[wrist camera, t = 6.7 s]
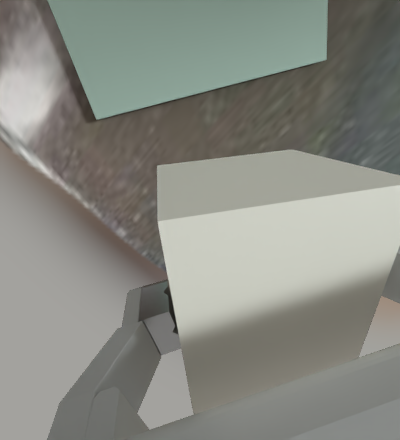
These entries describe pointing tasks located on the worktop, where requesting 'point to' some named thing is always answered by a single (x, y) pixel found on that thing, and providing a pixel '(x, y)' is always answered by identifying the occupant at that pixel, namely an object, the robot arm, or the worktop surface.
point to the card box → (273, 265)
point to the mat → (184, 45)
